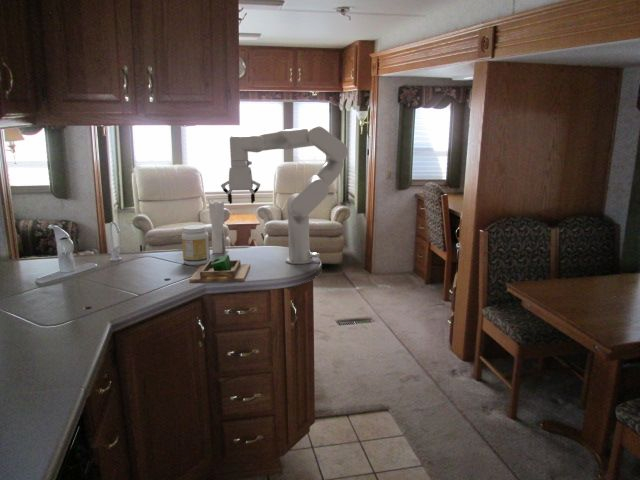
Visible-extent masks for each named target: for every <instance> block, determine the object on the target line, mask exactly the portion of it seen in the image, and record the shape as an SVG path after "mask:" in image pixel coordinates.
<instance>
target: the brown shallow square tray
mask: <svg viewBox="0 0 640 480" xmlns="http://www.w3.org/2000/svg"><path fill="white" fill-rule="evenodd" d="M213 262H214V260H210V261H208V262H207V263H205V264H201V265H199V267H198V268H197V269H196V270H195V271H194V273H193V274H192V275H191V277H190V278H189V283H211V282H212V283H216V282H223V283H224V282H244V281H245V279H246V277H247V275H248V272H249V270H250V269H251V264H250V263H248V264H247V263H246V264H243V263H241V260H240V259H232V260H231V259H230V262H231V265H232V268H231V269H230V271H214V269H213V267H212V266H211V263H213Z"/></svg>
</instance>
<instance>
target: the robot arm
mask: <svg viewBox="0 0 640 480" xmlns="http://www.w3.org/2000/svg"><path fill="white" fill-rule="evenodd" d="M307 147H315V148H317V149H318V150H319V151H320V152H322V153H323V154H324V155H325V161H324V163H323V165H322V166H321V167H320V168H319V169H318V170H317V171H316V172H315V173H314V174H313V175H312V176H311V177H310V178H309V179H307V180H306V182H305V184H304V189H302V190H301V191H300V192H296V193H293V194H291V195H290V196H289V197H288V198H287V201H286V208H287V209H286V210H287V225H288V228H287V229H288V230H287V231H288V257H286V258H285V261H286V263H287V264H290V265H306V264H311V263H312V262H313V261H314V258H320V253H319V252H318V253H317V252H311V249H310V217H309V214H311V213H312V212H313V211H314V210H315V209H316V208H317V207H318V206H319V205H320V204H321V203H322V202H323V201H324V200H325V199H326V198H327V196H328V194H329V191H330V186H331V185H332V184H333V183H334V182H335V180H337V178H339V176H340V174H341V173H342V171H343V167H344V162H345V161H344V160H345V159H346V158H347V156H348V153H349V151H348V147H347V145H346V144H345V143H344V141H341V140H340V139H339V138H337V137H336V136H335V135H334V134H332V133H331V132H330V131H328V130H327V129H326V128H324V127H322V126H320V125H313V126H305V127H298V128H288V129H283V130H279V131H274V132H267V133H259V134H253V135H231V136H230V137H229V148H230V149H229V150H230V151H229V153H230V167H229V171H228V180H227V181H225V182H224V183H222V184H220V188H222V190H223V192H224V193H225V194H226V195H227V201H228V203H229V205H231V204H233V194H232V192H233V191H249V192H250V193H251V194H250V199H251V200H250V203H251V204H254V203H255V201H256V198H255V197H256V196H255V195H256V193H257V192H258V191H259V189H260V187H261V183H259V182H258V181H255V180H253V174H252V168H251V166H250V165H252V164H253V163H252V161H250V160H249V153H260V152H263V151H272V150H293V149H297V148H298V149H300V148H301V149H302V148H307ZM227 185H228V188H229V189H227V188H226V186H227ZM253 185H254V186H255V188H254V189H253Z"/></svg>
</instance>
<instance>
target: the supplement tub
mask: <svg viewBox="0 0 640 480" xmlns="http://www.w3.org/2000/svg"><path fill="white" fill-rule="evenodd" d="M182 232H183V233H181V243H182V246H181V247H182V257H183V259H182V260H183V263H184V264H185V265H188V266H201V265H206V264H207V262H208V261H211V254H210V253H211V252H210V237H209V236H210V235H209V233H208V231H207V226H206V225H203V224H191V225H186V226H184V227H182Z"/></svg>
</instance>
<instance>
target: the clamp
mask: <svg viewBox="0 0 640 480" xmlns="http://www.w3.org/2000/svg"><path fill="white" fill-rule="evenodd" d="M230 260H231V259H230V255H229V254H224V255H221V256H218V257H215V258H214V259H213V261H214V262H213V263H211V266H212V267H213V269H214V271H230V269H231V268H232V265H231V262H230Z"/></svg>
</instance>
